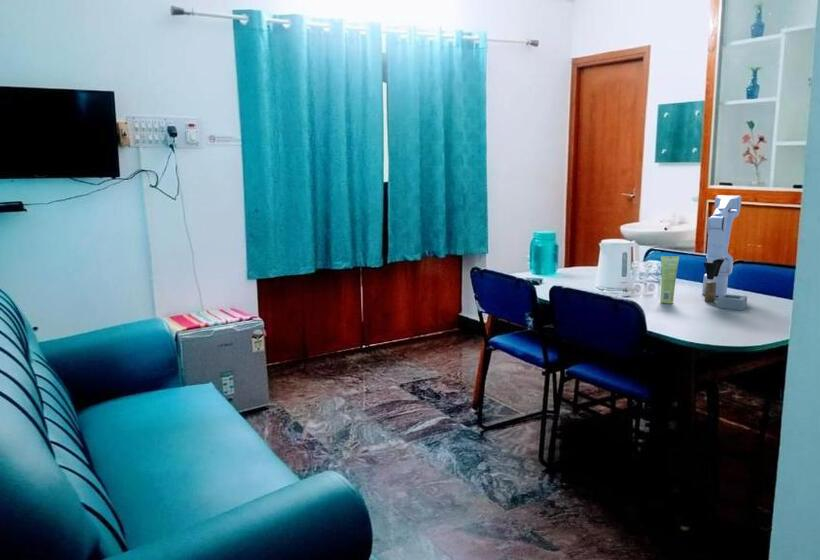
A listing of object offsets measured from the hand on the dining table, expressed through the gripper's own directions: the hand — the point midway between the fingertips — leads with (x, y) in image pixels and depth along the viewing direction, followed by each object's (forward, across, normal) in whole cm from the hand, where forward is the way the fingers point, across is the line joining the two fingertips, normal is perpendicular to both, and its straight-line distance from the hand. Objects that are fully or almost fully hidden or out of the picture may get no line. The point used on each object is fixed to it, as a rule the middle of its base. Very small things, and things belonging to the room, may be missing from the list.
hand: (712, 277), depth 262 cm
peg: (+10, 0, 0) cm, 10 cm away
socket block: (+10, -6, -9) cm, 15 cm away
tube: (+10, -12, +14) cm, 21 cm away
